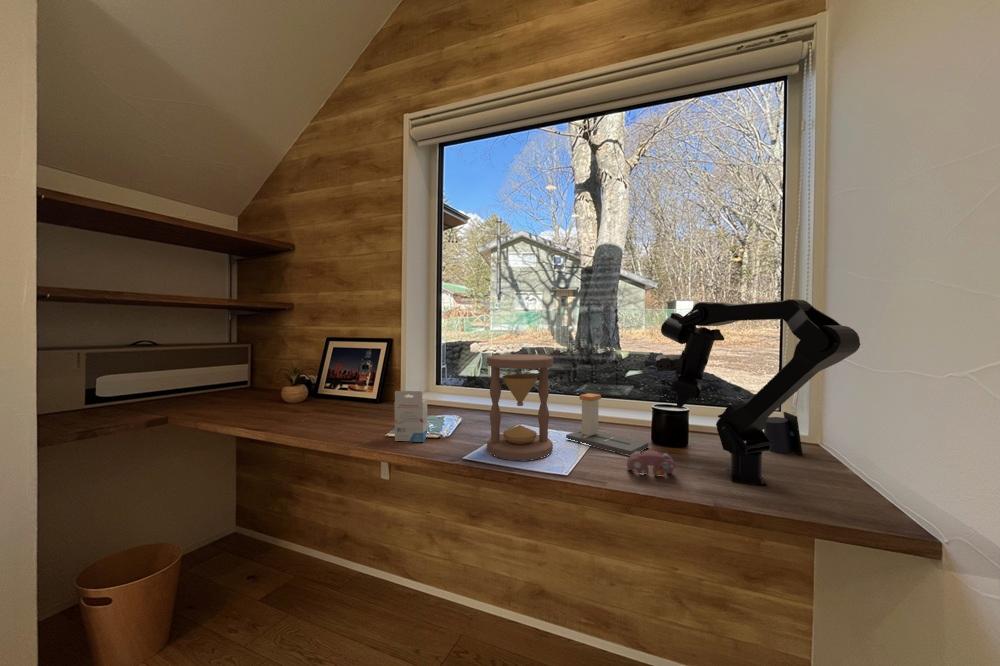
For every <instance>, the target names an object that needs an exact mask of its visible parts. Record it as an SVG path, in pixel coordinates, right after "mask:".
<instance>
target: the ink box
mask: <svg viewBox="0 0 1000 666" xmlns="http://www.w3.org/2000/svg"><path fill="white" fill-rule="evenodd" d="M408 395H409V396H410V397H409V396H408ZM405 396H406V397H405ZM407 396H408V397H407ZM411 396H413V397H411ZM393 404H394V405H393V406H394V442H395V441H413V442H423V443H424V442H425V441H426V440H427V439H426V434H427V432H428V398H423V392H422V391H421V390H417V391H416V390H395V391H394V403H393ZM425 439H426V440H425Z"/></svg>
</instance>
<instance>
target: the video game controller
mask: <svg viewBox="0 0 1000 666" xmlns="http://www.w3.org/2000/svg"><path fill="white" fill-rule="evenodd" d="M649 466H652V474H653V475H654V474H655V475H663V476H664V475H665V474H669V475H670V474H672V473H673V471H674V470H675V467H676V465H675V461H674V459H673V458H672V456H670V455H669V454H668V452H665V453H661V452H659V451H656V450H644V451H642V452H639V451H635V452H634V453H632V454H631V455H630V457H629V456H628V459H627V463H626V467H627V470H628V469H629V470H631V471H633V470H635V471H637V473H638V474H639V473H647V475H648V474H649V471H650V470H649ZM629 470H628V471H629ZM655 475H654V476H655Z"/></svg>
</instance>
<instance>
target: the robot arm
mask: <svg viewBox="0 0 1000 666" xmlns="http://www.w3.org/2000/svg"><path fill="white" fill-rule="evenodd" d="M769 320H772V321H774V320H776V321H777V320H783V321H784V322H786V324H787V326H788V328H789V330H790V331H791V333H792V334H793V335H794V336H795V337H796V338H797V339H799V341H798V342H797V343H796V345H795V348H794V352H793V356H792V358H791V359H790V360H789V361H788V362H787V363H786V364H785V365H784V366H783V367H782V368H781V369H780V370H779V371H778V372H777V373H776V374H775V375H774V376H773V377H772V378H771V379H770V380H769V381H768V382H767V383H765V385H764V386H763V387H762V388H761V389H760V390H758V392H756V394H754V396H752V398H750V400H748V401H747V402H745V403H736V404H729V405H728V406H727V407H726V408H725V410H724V411H723V412H722V413H721V414H719V415H717V417H718V420H716V424H715V426H716V431H717V434H718V436H719V439H720V443H721V446H722V449H723V451H725V452H728V453H730V468H726V469H725V470H726V474H727V475H728V478H729V479H730V481H731V482H734V483H741V484H749V485H755V486H756V485H758V486H766V487H767V486H768V482H767V481H766V479H765V478H764V477H763V476H762V475H763V473H762V472H763V471H762V470H763V452H771V451H770V449H771V446H772V442H771V440H770V439H769V438H768V437H767V436H766V434H765V433H764V428H765V426H766V422H767V418H768V417H771V415H772V414H773V413H774V412H775V411H776V410H777V409H779V408H780V407H781V406H782V405H783V404H784V403H786V401H787V400H789V399H790V398H791V397H792V396H793V395H794V394H795V393H797V392H798V391H799V390H800V389H801V388H802V387H804V385H805V384H807V383H808V382H809V381H810V380H812V378H813V377H814V376H816V375H817V374H818V373H819V372H822V371H823V370H826V369H828V368H829V367H832V366H834V365H836V364H838V363H840V362H841V361H843V360H845V359H848V357H850V356H852V355H853V354H855V353H856V352H857V351H859V349H860V346H861V341H860V339H861V338H860V337H859V334H858V332H856V331H855V329H854V328H851V327H849V326H847V325H843V324H841V323H839V322H838V321H837V320H835V319H834V318H832V317H831V316H829V315H827V314H826V313H824V312H822V311H820V310H818V309H816V307H814V306H813V305H812V304H810V302H808V301H807V300H804V299H792V298H788V299H784V300H778V301H765V302H764V301H762V302H751V303H750V302H749V303H726V302H718V301H717V302H715V301H714V302H713V301H699V302H698V301H697V302H695V304H694V305H693V307H692V309H691V310H689V312H688V313H686V314H685V315H682V314H680V313H678V312H672V313H670V316H669V317H668V318H666V319H665V320H664V322H663V323H662V324H661V327H660V332H661V335H662V336H664V337H666V338H668V339H670V340H672V341H674V342H676V343H678V344H680V345H684V348H683V350H682V351H681V353H680V354H657V356H656V358H655V364H654V365H655V368H656V372H664V371H665V372H666V371H667V372H670V371H675V372H674V374H675V376H674V377H673V379H672V382H671V385H670V390H671V391H672V392H676V393H677V395H676V396H677V397H676V407H678V408H681V409H682V407H683V406H684V405H685V404H686V403H688V402H689V401H690V399H692V398H694V399H699V397H700V393H701V392H702V391H701V390H702V385H701V382H700V381H703V380H702V379H703V377H704V373H705V369H706V366H707V365H708V362H709V359H710V358H709V357H710V355H711V351H712V349H713V346H714V343H715V341H716V342H717V341H719V342H720V341H725V337H724V335H723V333H722V332H721V329H719V328H717V329H716V328H715V329H710V328H708V327H721V326H724V325H730V324H733V323H736V322H741V321H743V322H744V321H746V322H747V321H769ZM697 326H698V327H697Z"/></svg>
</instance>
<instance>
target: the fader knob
mask: <svg viewBox="0 0 1000 666" xmlns="http://www.w3.org/2000/svg"><path fill="white" fill-rule="evenodd" d="M578 399H579V400H581V430H582V434H585V435H589V436H592V435H595V434H597V433H598V431H599V400H601V399H602V395H601V394H599V393H591V392H590V393H589V392H588V393H584V394H580V395H579V398H578Z"/></svg>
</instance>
